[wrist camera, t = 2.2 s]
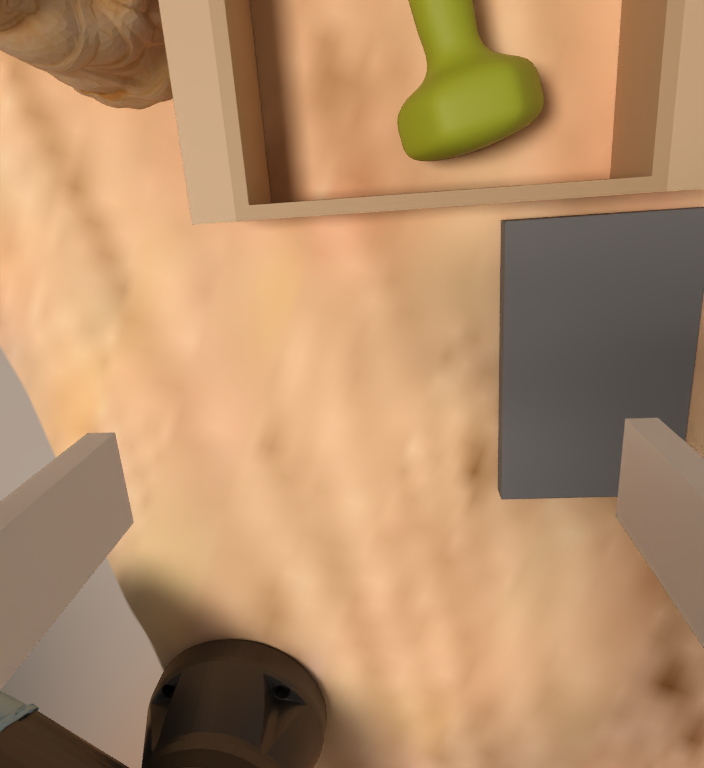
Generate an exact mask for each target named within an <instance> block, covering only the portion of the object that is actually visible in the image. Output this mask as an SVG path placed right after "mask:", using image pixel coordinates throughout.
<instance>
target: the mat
mask: <svg viewBox="0 0 704 768" xmlns="http://www.w3.org/2000/svg"><path fill="white" fill-rule="evenodd" d="M703 293H704V207H693V208H678V209H663V210H648V211H633V212H618V213H603V214H588V215H573V216H559V217H544V218H529V219H514V220H501V267H500V352H499V436H498V491H499V494H500V497H501V499H535V498H577V497H618V489H619V479H620V468H621V458H622V447H623V437H624V426H625V419H629V418H659V419H660V420H661V421H662V422H663V423H664V424H665V425H667V426H668V427H669V428H670V429H671V430H672V431H674V432H675V433H676V434H677V435H678V436H679V437H680V438H682V439H683V440H684V441H685V439H686V431H687V423H688V415H689V407H690V399H691V391H692V382H693V374H694V366H695V358H696V350H697V342H698V333H699V325H700V317H701V309H702V301H703Z"/></svg>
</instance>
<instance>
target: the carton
mask: <svg viewBox="0 0 704 768" xmlns="http://www.w3.org/2000/svg"><path fill="white" fill-rule="evenodd" d="M158 1H159V8H160V14H161V21H162V28H163V34H164V41H165V48H166V54H167V61H168V68H169V74H170V81H171V87H172V94H173V101H174V107H175V114H176V121H177V127H178V134H179V141H180V147H181V154H182V161H183V167H184V174H185V181H186V187H187V194H188V200H189V207H190V214H191V220H192V225H195V224H209V223H224V222H238V221H252V220H267V219H281V218H295V217H310V216H324V215H338V214H353V213H367V212H381V211H396V210H410V209H424V208H439V207H453V206H467V205H482V204H496V203H510V202H525V201H539V200H553V199H568V198H582V197H596V196H611V195H625V194H639V193H654V192H668V191H682V190H697V189H704V0H622V11H621V26H620V41H619V56H618V70H617V85H616V100H615V115H614V130H613V144H612V159H611V174H610V179H603V180H590V181H576V182H562V183H548V184H534V185H520V186H507V187H493V188H479V189H465V190H451V191H437V192H424V193H410V194H396V195H382V196H368V197H354V198H341V199H327V200H313V201H299V202H285V203H271V194H270V185H269V175H268V166H267V157H266V148H265V138H264V129H263V120H262V110H261V101H260V92H259V82H258V73H257V64H256V55H255V45H254V36H253V27H252V17H251V8H250V0H158Z"/></svg>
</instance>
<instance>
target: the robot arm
mask: <svg viewBox="0 0 704 768" xmlns="http://www.w3.org/2000/svg"><path fill="white" fill-rule="evenodd" d="M616 517H617V519H618V520H619V522H620V523H621V525H622V526H623V528H624V529H625V531H626V532H627V534H628V535H629V537H630V538H631V540H632V541H633V543H634V544H635V546H636V547H637V549H638V550H639V552H640V553H641V555H642V556H643V558H644V559H645V561H646V562H647V564H648V565H649V567H650V568H651V570H652V571H653V573H654V574H655V576H656V577H657V579H658V580H659V582H660V583H661V585H662V586H663V588H664V589H665V591H666V592H667V594H668V595H669V597H670V598H671V600H672V601H673V603H674V604H675V606H676V607H677V609H678V610H679V612H680V613H681V615H682V616H683V618H684V619H685V621H686V622H687V624H688V625H689V627H690V628H691V630H692V631H693V633H694V634H695V636H696V637H697V639H698V640H699V642H700V643H701V645H702V646H703V648H704V458H703V457H702V456H701V455H700V454H699V453H698V452H696V451H695V450H694V449H693V448H692V447H691V446H690V445H688V444H687V443H686V442H685V441H684V440H683V439H682V438H680V437H679V436H678V435H677V434H676V433H675V432H674V431H672V430H671V429H670V428H669V427H668V426H667V425H665V424H664V423H663V422H662V421H661V420H660V419H659V418H629V419H625V426H624V437H623V447H622V458H621V468H620V479H619V489H618V499H617V510H616ZM133 523H134V522H133V517H132V512H131V507H130V503H129V498H128V493H127V488H126V483H125V479H124V474H123V469H122V464H121V460H120V455H119V450H118V445H117V440H116V436H115V433H87V434H86V435H85V436H84V437H82V438H81V439H80V440H78V441H77V442H76V443H75V444H73V445H72V446H71V447H70V448H68V449H67V450H66V451H64V452H63V453H62V454H61V455H59V456H58V457H57V458H55V459H54V460H53V461H52V462H50V463H49V464H48V465H47V466H45V467H44V468H43V469H41V470H40V471H39V472H38V473H36V474H35V475H34V476H32V477H31V478H30V479H29V480H27V481H26V482H25V483H24V484H22V485H21V486H20V487H19V488H17V489H16V490H15V491H13V492H12V493H11V494H9V495H8V496H7V497H6V498H4V499H3V500H2V501H0V768H129V767H127V766H125V765H124V764H122V763H121V762H119V761H117V760H116V759H114V758H113V757H111V756H109V755H108V754H106V753H104V752H103V751H101V750H99V749H98V748H96V747H95V746H93V745H92V744H90V743H88V742H87V741H85V740H84V739H82V738H80V737H79V736H77V735H75V734H74V733H72V732H71V731H69V730H67V729H66V728H64V727H63V726H61V725H59V724H58V723H56V722H55V721H53V720H51V719H50V718H48V717H46V716H45V715H43V714H41V713H40V712H38V709H39V708H38V707H37V706H36V705H35V704H29V705H27V704H25V703H23V702H21V701H19V700H17V699H15V698H14V697H12V696H10V695H8V694H6V693H4V692H2V691H1V688H2V687H3V686H4V685H5V683H6V682H7V681H8V679H9V678H10V677H11V676H12V675H13V673H14V672H15V671H16V670H17V668H18V667H19V666H20V664H21V663H22V662H23V661H24V659H25V658H26V657H27V656H28V654H29V653H30V652H31V651H32V649H33V648H34V647H35V646H36V644H37V643H38V642H39V641H40V639H41V638H42V637H43V636H44V634H45V633H46V632H47V630H48V629H49V628H50V627H51V626H52V624H53V623H54V622H55V620H56V619H57V618H58V617H59V616H60V614H61V613H62V612H63V611H64V609H65V608H66V607H67V606H68V604H69V603H70V602H71V600H72V599H73V598H74V597H75V595H76V594H77V593H78V592H79V590H80V589H81V588H82V587H83V585H84V584H85V583H86V582H87V580H88V579H89V578H90V577H91V575H92V574H93V573H94V572H95V570H96V569H97V568H98V566H99V565H100V564H101V563H102V562H103V560H104V559H105V558H106V557H107V555H108V554H109V553H110V552H111V550H112V549H113V548H114V547H115V545H116V544H117V543H118V541H119V540H120V539H121V538H122V536H123V535H124V534H125V533H126V531H127V530H128V529H129V528H130V526H131V525H132V524H133ZM325 725H326V706H325V702H324V699H323V696H322V693H321V691H320V689H319V687H318V685H317V684H316V682H315V681H314V679H313V678H312V677H311V676H310V675H309V673H308V672H307V671H306V670H305V669H304V668H303V667H302V666H300V665H299V664H298V663H297V662H295V661H294V660H293V659H291V658H290V657H288V656H286V655H285V654H283V653H281V652H279V651H277V650H275V649H272V648H270V647H267V646H264V645H261V644H257V643H253V642H248V641H241V640H218V641H212V642H207V643H203V644H200V645H197V646H194V647H192V648H190V649H188V650H186V651H184V652H183V653H181V654H180V655H178V656H177V657H176V658H175V659H174V660H173V661H172V662H171V663H170V664H169V665H168V666H167V667H166V669H165V670H164V672H163V674H162V676H161V678H160V680H159V682H158V684H157V687H156V688H155V691H154V693H153V695H152V698H151V700H150V704H149V708H148V715H147V724H146V733H145V742H144V752H143V760H142V768H314V766H315V764H316V762H317V760H318V758H319V755H320V753H321V749H322V745H323V740H324V732H325Z"/></svg>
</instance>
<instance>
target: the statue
mask: <svg viewBox="0 0 704 768" xmlns="http://www.w3.org/2000/svg"><path fill="white" fill-rule="evenodd" d="M0 50H1V51H3V52H5V53H7V54H9V55H11V56H14V57H15V58H17V59H19V60H21V61H23V62H25V63H27V64H29V65H31V66H33V67H36V68H38V69H41V70H44V71H46V72H48V73H49V74H51V75H52V76H54V77H55V78H56V79H58V80H59V81H61V82H63V83H65V84H67V85H69V86H72V87H73V88H74V89H75V90H76V91H77V92H79V93H80V94H82V95H85V96H88V97H93V98H95V99H96V100H97V101H99V102H101V103H102V104H105V105H107V106H110V107H115V108H133V109H144V108H147V107H150V106H152V105H154V104H156V103H158V102H160V101H165V100H170V99H171V98H172V97H173V94H172V87H171V81H170V74H169V68H168V61H167V54H166V48H165V41H164V34H163V28H162V21H161V14H160V8H159V1H158V0H0Z"/></svg>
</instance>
